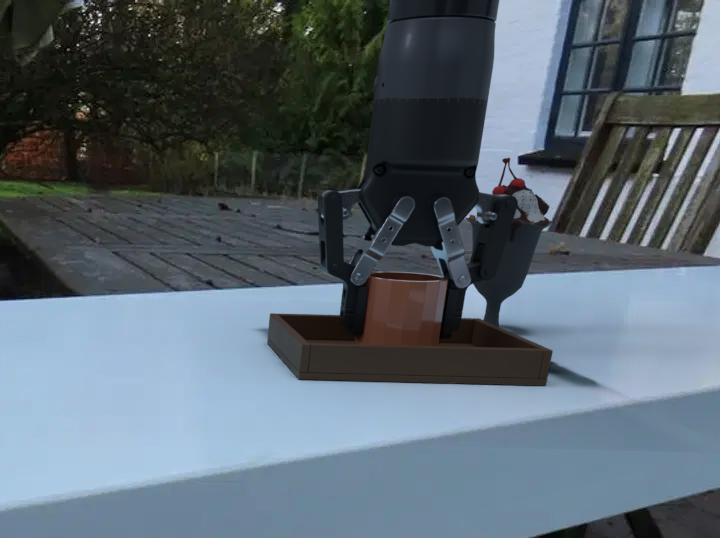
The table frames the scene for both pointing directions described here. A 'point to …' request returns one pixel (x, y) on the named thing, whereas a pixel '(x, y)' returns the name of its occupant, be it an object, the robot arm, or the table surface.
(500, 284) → the sundae
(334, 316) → the tray
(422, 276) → the terracotta flower pot
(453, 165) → the robot arm
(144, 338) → the table surface
